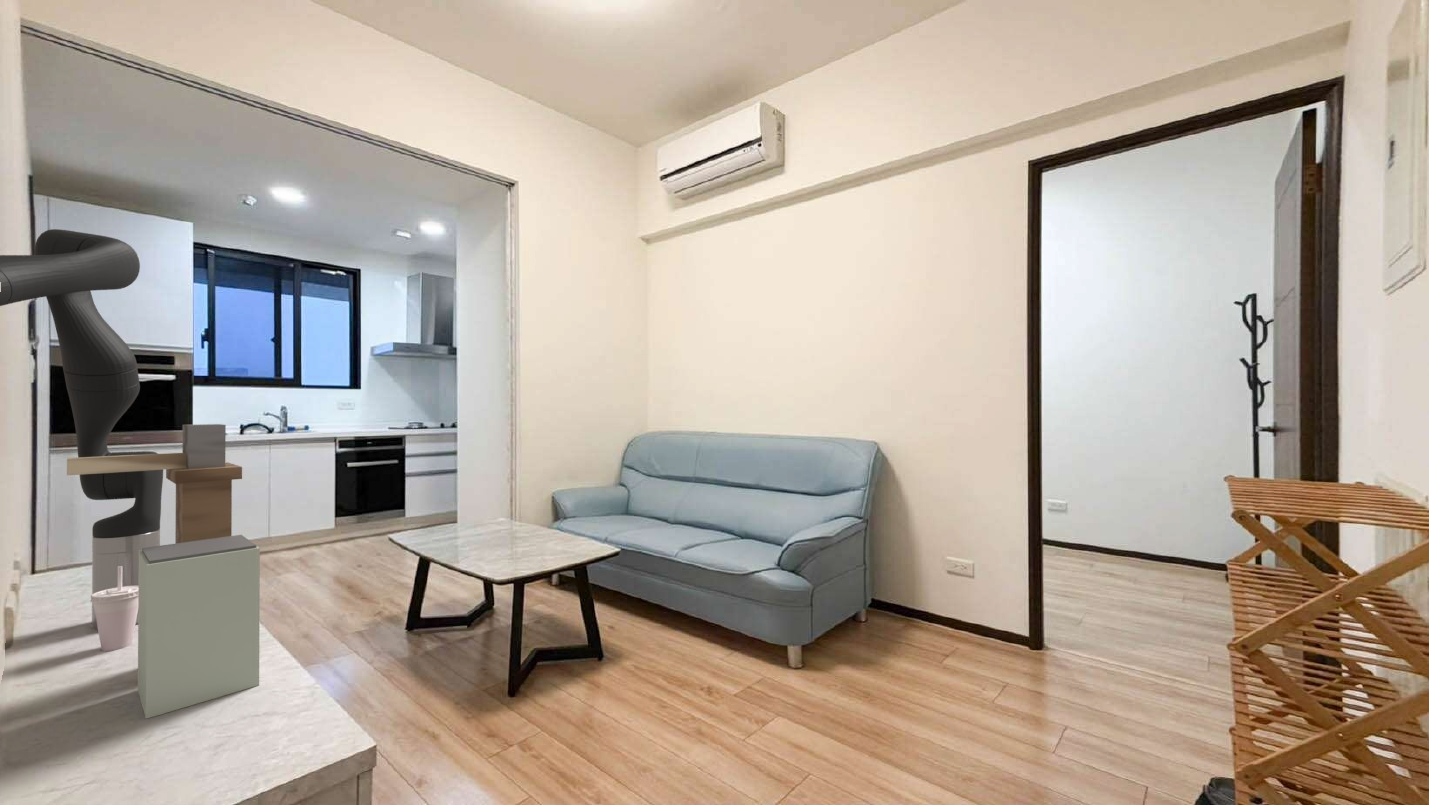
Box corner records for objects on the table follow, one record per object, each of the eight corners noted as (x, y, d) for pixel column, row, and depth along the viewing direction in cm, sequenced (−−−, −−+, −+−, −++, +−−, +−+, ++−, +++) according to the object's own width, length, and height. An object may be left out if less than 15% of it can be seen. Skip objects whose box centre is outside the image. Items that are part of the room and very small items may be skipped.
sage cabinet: (137, 690, 83) (138, 548, 83) (242, 662, 92) (243, 534, 92) (145, 719, 75) (146, 562, 75) (259, 685, 84) (259, 545, 84)
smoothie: (107, 655, 95) (108, 572, 95) (79, 652, 96) (80, 570, 96) (152, 640, 101) (153, 562, 101) (125, 637, 102) (126, 560, 102)
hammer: (66, 473, 85) (67, 426, 85) (217, 464, 98) (217, 424, 98) (67, 476, 80) (67, 427, 80) (225, 466, 93) (225, 424, 93)
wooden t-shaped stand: (164, 656, 94) (166, 466, 95) (227, 640, 100) (228, 462, 101) (174, 678, 86) (175, 471, 87) (241, 660, 93) (242, 466, 93)
